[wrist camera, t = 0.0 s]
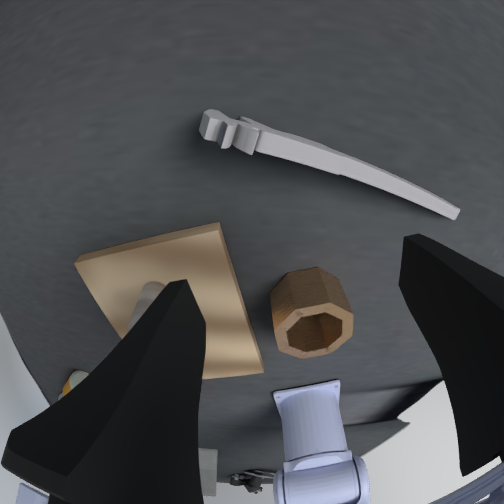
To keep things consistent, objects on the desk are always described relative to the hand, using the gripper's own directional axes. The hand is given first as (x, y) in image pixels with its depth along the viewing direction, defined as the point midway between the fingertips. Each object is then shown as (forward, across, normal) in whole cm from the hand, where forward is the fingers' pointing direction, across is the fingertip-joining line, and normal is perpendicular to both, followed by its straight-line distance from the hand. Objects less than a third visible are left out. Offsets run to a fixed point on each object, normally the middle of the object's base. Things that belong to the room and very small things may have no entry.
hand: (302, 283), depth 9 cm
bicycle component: (+11, +14, +72) cm, 74 cm away
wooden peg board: (+10, +10, +10) cm, 17 cm away
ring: (+10, -1, +10) cm, 14 cm away
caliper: (+11, -6, 0) cm, 12 cm away
